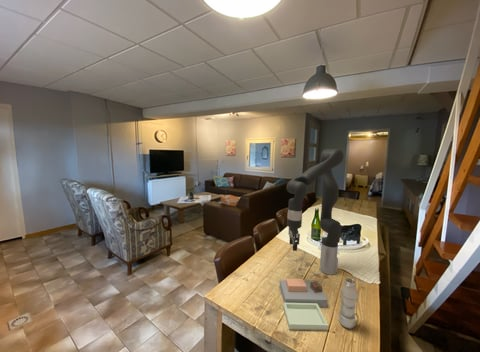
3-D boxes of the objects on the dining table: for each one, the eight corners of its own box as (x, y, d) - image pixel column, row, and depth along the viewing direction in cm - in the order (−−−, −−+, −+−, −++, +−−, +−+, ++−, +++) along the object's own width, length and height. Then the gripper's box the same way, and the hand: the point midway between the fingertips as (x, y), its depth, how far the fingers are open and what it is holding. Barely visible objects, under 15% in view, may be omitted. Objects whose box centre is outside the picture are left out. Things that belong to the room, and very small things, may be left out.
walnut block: (316, 286, 103) (317, 281, 103) (321, 291, 99) (322, 286, 99) (310, 287, 102) (310, 282, 102) (314, 292, 98) (315, 287, 98)
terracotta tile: (302, 284, 105) (302, 278, 104) (306, 292, 99) (306, 286, 98) (285, 283, 105) (285, 278, 104) (288, 291, 99) (288, 286, 98)
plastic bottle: (338, 328, 83) (342, 283, 81) (337, 315, 89) (340, 274, 87) (356, 333, 81) (360, 288, 78) (353, 320, 87) (357, 278, 85)
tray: (317, 308, 94) (317, 303, 93) (327, 330, 82) (328, 325, 81) (283, 307, 94) (283, 302, 93) (289, 329, 82) (289, 324, 82)
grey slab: (316, 287, 108) (316, 280, 108) (327, 307, 94) (327, 299, 94) (279, 286, 108) (279, 280, 108) (285, 306, 94) (285, 298, 94)
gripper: (305, 222, 99) (304, 254, 101) (297, 213, 113) (296, 241, 115) (290, 222, 99) (289, 253, 101) (284, 213, 113) (283, 241, 115)
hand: (293, 247), depth 108 cm, fingers open, 6 cm apart
